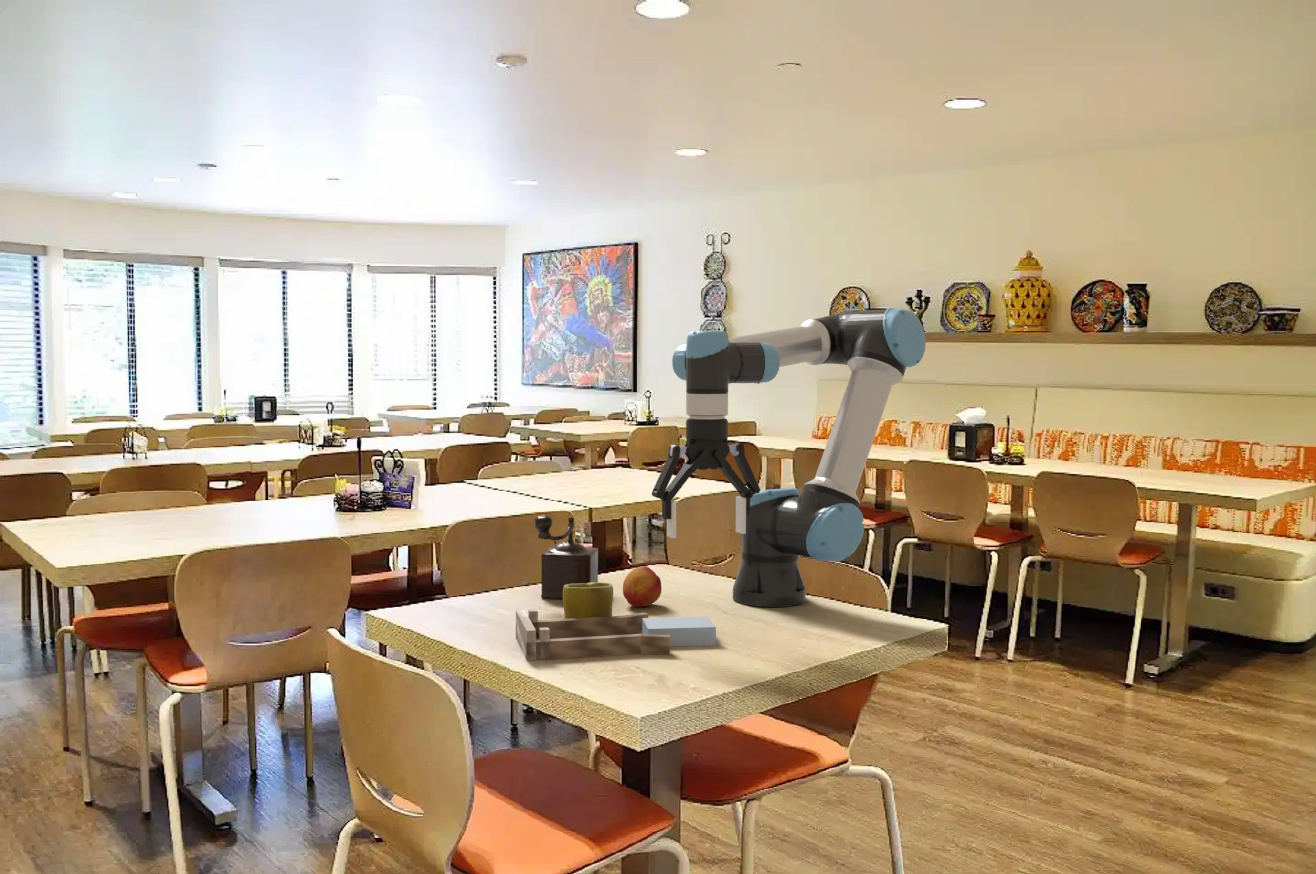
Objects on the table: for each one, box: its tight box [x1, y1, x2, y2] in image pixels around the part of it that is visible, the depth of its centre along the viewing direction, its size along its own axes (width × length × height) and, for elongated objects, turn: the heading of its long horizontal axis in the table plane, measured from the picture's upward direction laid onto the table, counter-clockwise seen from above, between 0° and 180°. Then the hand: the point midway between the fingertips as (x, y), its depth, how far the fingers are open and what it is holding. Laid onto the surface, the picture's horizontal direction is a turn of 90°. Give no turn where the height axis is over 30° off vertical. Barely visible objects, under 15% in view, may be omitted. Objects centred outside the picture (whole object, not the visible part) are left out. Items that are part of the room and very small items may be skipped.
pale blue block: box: [641, 616, 717, 647], centre depth 195 cm, size 12×8×4 cm, turn 98°
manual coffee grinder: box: [533, 514, 599, 601], centre depth 228 cm, size 16×11×18 cm
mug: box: [562, 581, 614, 619], centre depth 204 cm, size 12×10×10 cm
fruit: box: [622, 565, 662, 608], centre depth 221 cm, size 8×8×8 cm
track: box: [515, 608, 671, 661], centre depth 191 cm, size 24×18×5 cm
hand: (706, 535), depth 197 cm, fingers open, 13 cm apart
